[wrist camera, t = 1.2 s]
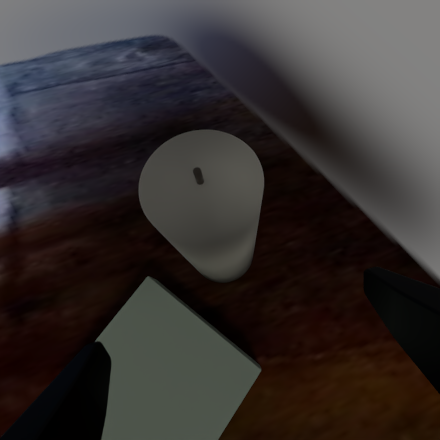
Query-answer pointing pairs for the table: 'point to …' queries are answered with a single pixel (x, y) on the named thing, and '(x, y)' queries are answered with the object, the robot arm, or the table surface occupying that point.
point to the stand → (170, 371)
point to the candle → (205, 200)
